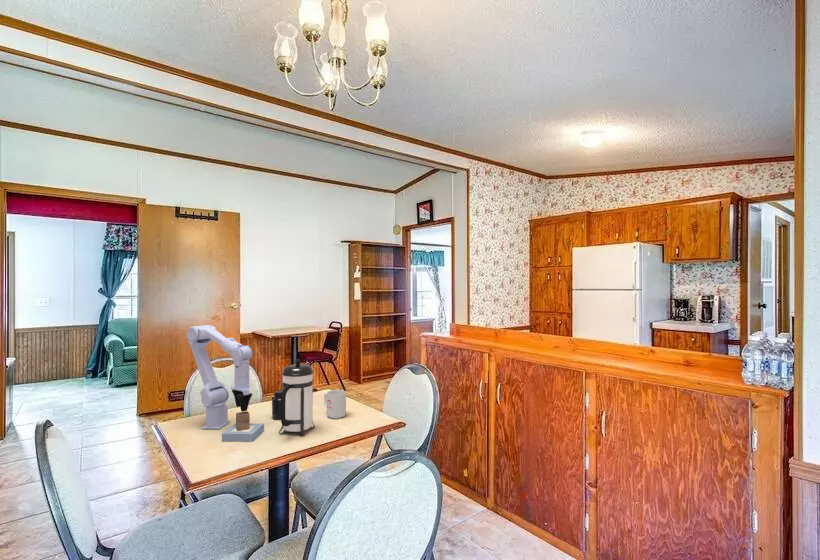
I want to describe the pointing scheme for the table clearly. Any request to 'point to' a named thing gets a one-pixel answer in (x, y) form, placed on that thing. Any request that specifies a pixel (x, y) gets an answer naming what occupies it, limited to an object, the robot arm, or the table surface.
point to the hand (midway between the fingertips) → (241, 408)
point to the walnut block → (242, 421)
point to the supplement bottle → (276, 405)
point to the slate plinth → (243, 433)
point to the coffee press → (297, 398)
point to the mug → (335, 403)
